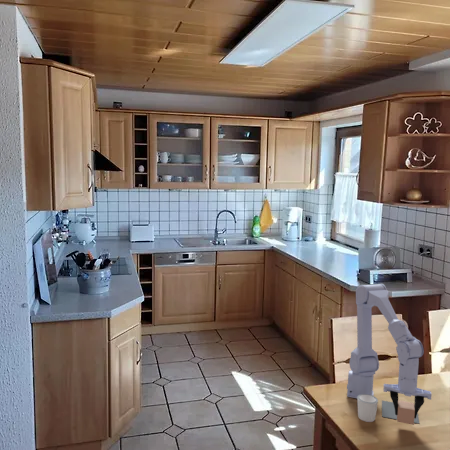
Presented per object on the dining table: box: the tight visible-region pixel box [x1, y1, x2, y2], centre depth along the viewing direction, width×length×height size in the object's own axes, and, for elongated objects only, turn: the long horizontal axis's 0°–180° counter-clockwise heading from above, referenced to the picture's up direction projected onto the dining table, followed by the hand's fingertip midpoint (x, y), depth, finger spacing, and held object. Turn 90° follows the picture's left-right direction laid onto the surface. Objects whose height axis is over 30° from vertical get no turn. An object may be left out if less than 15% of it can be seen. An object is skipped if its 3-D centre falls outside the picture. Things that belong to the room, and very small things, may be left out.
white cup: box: [356, 394, 379, 423], centre depth 150 cm, size 7×7×7 cm
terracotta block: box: [396, 399, 415, 426], centre depth 143 cm, size 5×5×5 cm
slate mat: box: [381, 400, 420, 425], centre depth 154 cm, size 12×12×1 cm
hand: (405, 415), depth 143 cm, fingers closed on terracotta block, 5 cm apart
